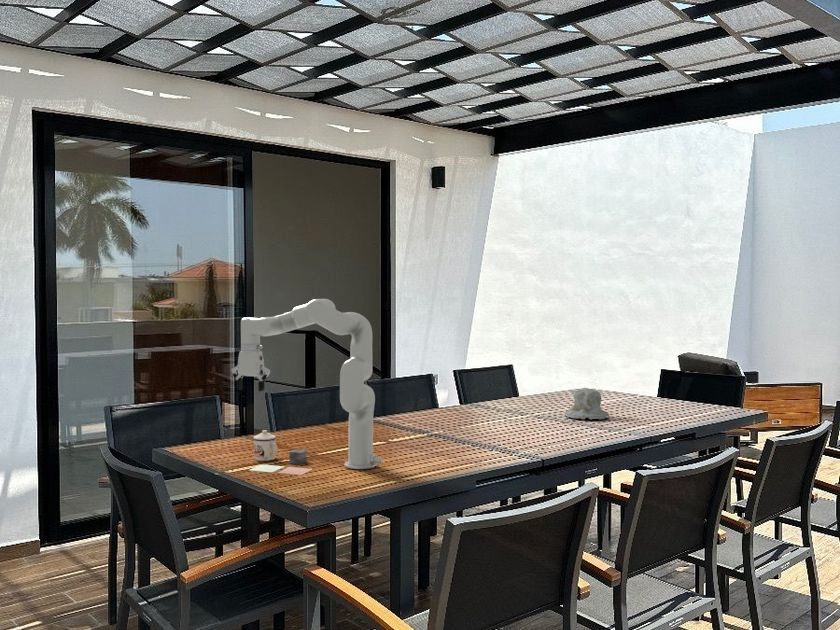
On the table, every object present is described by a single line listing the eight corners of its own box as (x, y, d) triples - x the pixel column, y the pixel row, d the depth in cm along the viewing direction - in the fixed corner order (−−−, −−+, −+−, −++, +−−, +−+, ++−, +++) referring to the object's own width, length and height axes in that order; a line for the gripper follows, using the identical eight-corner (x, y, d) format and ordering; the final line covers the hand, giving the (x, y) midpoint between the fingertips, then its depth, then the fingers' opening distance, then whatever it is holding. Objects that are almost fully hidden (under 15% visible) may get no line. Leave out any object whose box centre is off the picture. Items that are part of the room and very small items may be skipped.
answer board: (313, 470, 304) (313, 469, 304) (301, 476, 295) (301, 474, 295) (261, 465, 311) (261, 464, 311) (248, 471, 302) (248, 470, 302)
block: (306, 462, 318) (306, 450, 318) (300, 465, 313) (300, 452, 313) (295, 461, 319) (295, 449, 319) (289, 464, 315) (289, 451, 314)
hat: (619, 418, 426) (619, 391, 425) (587, 422, 414) (587, 393, 414) (585, 411, 448) (586, 385, 448) (554, 415, 436) (554, 387, 436)
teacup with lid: (248, 459, 323) (248, 430, 322) (266, 455, 330) (266, 427, 329) (267, 463, 315) (267, 434, 314) (285, 459, 322) (285, 431, 321)
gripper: (274, 348, 323) (274, 390, 323) (236, 346, 328) (236, 388, 329) (264, 349, 316) (264, 392, 316) (226, 348, 321) (226, 390, 322)
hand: (250, 390), depth 323 cm, fingers open, 9 cm apart
